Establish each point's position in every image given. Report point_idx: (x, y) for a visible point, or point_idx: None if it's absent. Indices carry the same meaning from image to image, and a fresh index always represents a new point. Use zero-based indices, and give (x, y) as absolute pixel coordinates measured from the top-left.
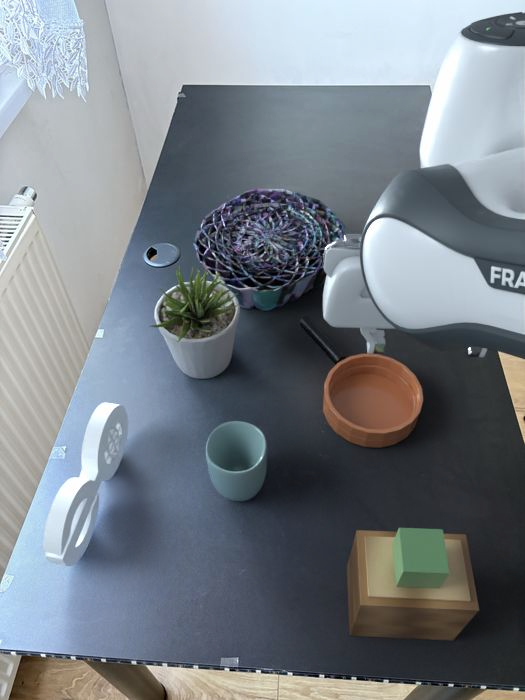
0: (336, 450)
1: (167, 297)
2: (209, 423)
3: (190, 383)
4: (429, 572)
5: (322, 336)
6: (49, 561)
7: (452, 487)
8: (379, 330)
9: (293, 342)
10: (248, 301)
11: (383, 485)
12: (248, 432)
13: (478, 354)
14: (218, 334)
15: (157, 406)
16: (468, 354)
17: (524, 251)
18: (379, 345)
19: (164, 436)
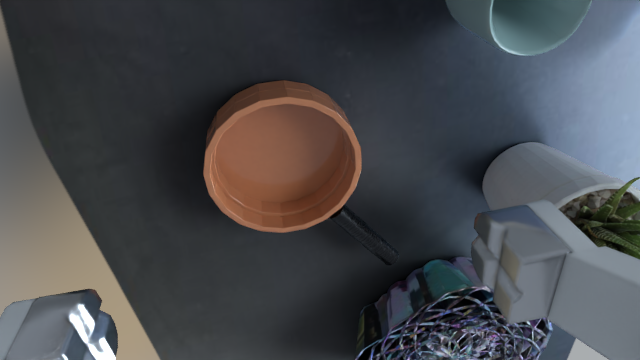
0: (324, 66)
1: None
2: (514, 74)
3: (537, 133)
4: None
5: (367, 241)
6: None
7: (128, 35)
8: (530, 318)
9: (395, 224)
10: (466, 267)
11: (243, 16)
12: (509, 39)
13: (33, 313)
14: (557, 206)
15: (585, 87)
16: (88, 299)
17: None
18: (544, 248)
19: (580, 39)
